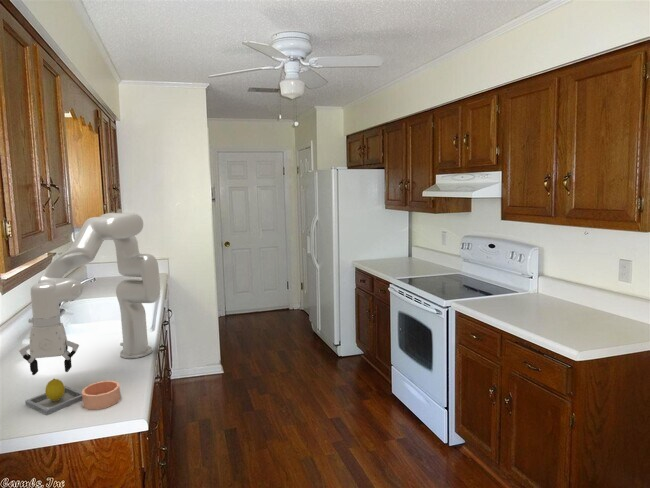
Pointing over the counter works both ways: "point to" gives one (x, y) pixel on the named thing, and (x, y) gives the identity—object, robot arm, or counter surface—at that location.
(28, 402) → the gray square frame
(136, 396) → the counter surface
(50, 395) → the lemon
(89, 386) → the bowl
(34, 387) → the counter surface
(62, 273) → the robot arm
